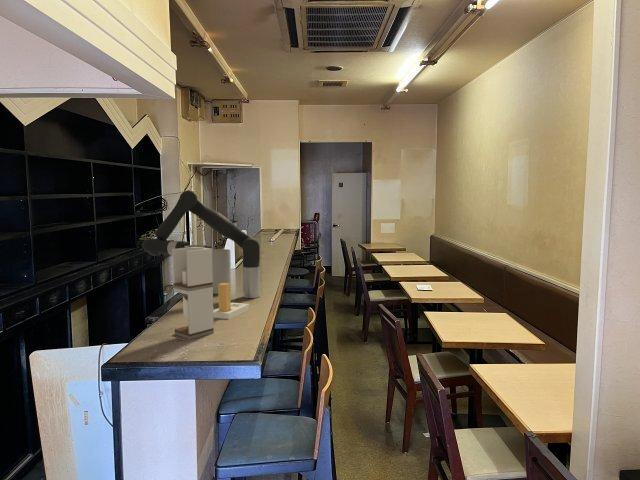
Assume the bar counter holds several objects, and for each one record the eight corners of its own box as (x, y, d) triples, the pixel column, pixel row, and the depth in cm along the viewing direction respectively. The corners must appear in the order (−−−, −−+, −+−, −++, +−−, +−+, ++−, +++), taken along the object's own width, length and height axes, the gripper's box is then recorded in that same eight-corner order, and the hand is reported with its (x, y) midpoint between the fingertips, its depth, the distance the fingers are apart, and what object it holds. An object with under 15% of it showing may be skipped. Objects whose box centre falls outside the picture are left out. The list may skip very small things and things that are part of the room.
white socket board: (231, 308, 230) (231, 302, 229) (249, 309, 227) (249, 304, 226) (209, 318, 211) (209, 311, 210) (229, 320, 208) (228, 313, 207)
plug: (223, 314, 216) (222, 282, 215) (230, 314, 215) (230, 283, 214) (218, 316, 213) (218, 284, 211) (226, 316, 211) (225, 284, 210)
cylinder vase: (215, 295, 260) (215, 252, 258) (205, 292, 270) (204, 250, 267) (235, 292, 268) (234, 250, 266) (224, 289, 278) (223, 248, 276)
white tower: (198, 328, 195) (196, 246, 191) (213, 332, 188) (212, 248, 185) (174, 334, 186) (172, 249, 183) (190, 339, 179) (187, 251, 176)
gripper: (170, 242, 225) (198, 243, 220) (187, 239, 238) (214, 240, 233) (170, 257, 225) (198, 258, 220) (187, 254, 239) (214, 255, 234)
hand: (206, 249), depth 227 cm, fingers open, 8 cm apart
